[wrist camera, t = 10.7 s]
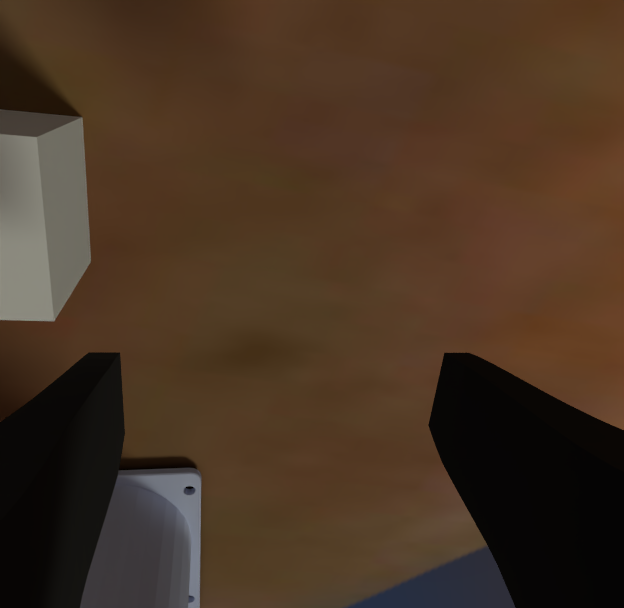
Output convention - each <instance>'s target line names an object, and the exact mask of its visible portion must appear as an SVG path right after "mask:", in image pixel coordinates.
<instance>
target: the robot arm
mask: <svg viewBox="0 0 624 608" xmlns="http://www.w3.org/2000/svg"><path fill="white" fill-rule="evenodd" d="M429 428H430V431H431V434H432V437H433V440H434V442H435V445H436V448H437V450H438V453H439V455H440V458H441V461H442V463H443V465H444V467H445V469H446V471H447V472H448V474H449V476H450V478H451V480H452V482H453V484H454V485H455V487H456V489H457V491H458V493H459V495H460V496H461V498H462V500H463V502H464V504H465V505H466V507H467V509H468V511H469V512H470V514H471V516H472V518H473V520H474V521H475V523H476V525H477V527H478V529H479V530H480V532H481V534H482V536H483V538H484V540H485V541H486V543H487V545H488V547H489V549H490V551H491V553H492V555H493V557H494V559H495V561H496V563H497V565H498V567H499V569H500V572H501V574H502V576H503V579H504V581H505V584H506V586H507V588H508V591H509V593H510V595H511V598H512V600H513V602H514V605H515V607H516V608H624V430H622V429H619V428H617V427H614V426H612V425H610V424H608V423H605V422H603V421H601V420H599V419H597V418H594V417H592V416H590V415H588V414H586V413H584V412H582V411H580V410H578V409H576V408H574V407H572V406H570V405H568V404H566V403H564V402H562V401H560V400H558V399H557V398H555V397H553V396H551V395H549V394H547V393H545V392H543V391H541V390H540V389H538V388H536V387H534V386H532V385H531V384H529V383H527V382H525V381H523V380H521V379H520V378H518V377H516V376H514V375H512V374H511V373H509V372H507V371H505V370H503V369H501V368H500V367H498V366H496V365H494V364H492V363H490V362H488V361H486V360H484V359H482V358H480V357H478V356H475V355H473V354H470V353H444V357H443V362H442V366H441V371H440V375H439V380H438V385H437V389H436V394H435V398H434V403H433V407H432V412H431V416H430V421H429ZM124 435H125V429H124V412H123V395H122V378H121V361H120V353H88V354H87V355H85V356H84V357H83V358H82V359H80V360H79V361H78V362H77V363H76V364H74V365H73V366H72V367H71V368H70V369H69V370H67V371H66V372H65V373H64V374H63V375H61V376H60V377H59V378H58V379H57V380H55V381H54V382H53V383H52V384H50V385H49V386H48V387H47V388H46V389H44V390H43V391H42V392H41V393H39V394H38V395H37V396H36V397H34V398H33V399H32V400H31V401H29V402H28V403H26V404H25V405H24V406H22V407H21V408H20V409H18V410H17V411H15V412H14V413H13V414H11V415H10V416H9V417H7V418H6V419H4V420H3V421H2V422H0V608H200V535H201V473H200V472H199V471H198V470H197V469H195V468H168V469H142V470H119V466H120V460H121V454H122V448H123V441H124ZM188 486H192V487H194V488H192V489H187V488H186V487H188ZM189 595H190V596H189Z"/></svg>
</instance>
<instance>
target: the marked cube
mask: <svg viewBox="0 0 624 608" xmlns="http://www.w3.org/2000/svg"><path fill="white" fill-rule="evenodd" d="M90 262H91V253H90V236H89V219H88V203H87V186H86V169H85V152H84V136H83V119H82V117H76V116H65V115H55V114H44V113H34V112H23V111H12V110H2V109H0V320H26V321H55V319H56V317H57V316H58V314H59V313H60V311H61V309H62V308H63V306H64V304H65V303H66V301H67V300H68V298H69V296H70V295H71V293H72V291H73V290H74V288H75V287H76V285H77V283H78V282H79V280H80V278H81V277H82V275H83V274H84V272H85V270H86V269H87V267H88V265H89V264H90Z"/></svg>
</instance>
